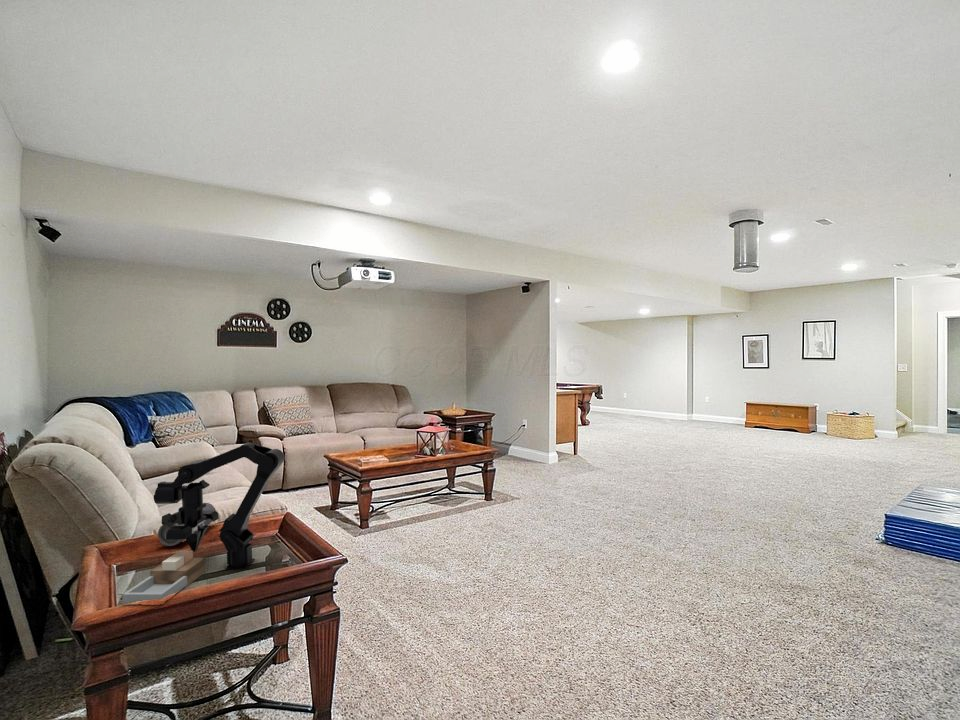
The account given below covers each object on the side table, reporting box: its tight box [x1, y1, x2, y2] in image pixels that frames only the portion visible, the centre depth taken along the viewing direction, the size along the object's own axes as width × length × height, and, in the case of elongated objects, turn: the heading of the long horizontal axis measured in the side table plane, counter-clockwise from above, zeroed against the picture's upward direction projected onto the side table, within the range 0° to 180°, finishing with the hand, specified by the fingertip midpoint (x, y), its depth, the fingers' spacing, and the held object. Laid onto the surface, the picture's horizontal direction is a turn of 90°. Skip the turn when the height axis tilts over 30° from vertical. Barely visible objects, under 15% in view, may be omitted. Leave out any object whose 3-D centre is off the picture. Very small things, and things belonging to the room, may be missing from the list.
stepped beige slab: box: [149, 557, 206, 587], centre depth 151 cm, size 11×9×4 cm
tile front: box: [161, 555, 184, 571], centre depth 149 cm, size 4×4×2 cm
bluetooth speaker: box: [157, 502, 217, 547], centre depth 185 cm, size 23×9×10 cm, turn 179°
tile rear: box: [171, 550, 194, 564], centre depth 153 cm, size 4×4×2 cm
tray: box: [121, 575, 188, 605], centre depth 141 cm, size 11×11×3 cm
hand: (194, 551), depth 159 cm, fingers closed
